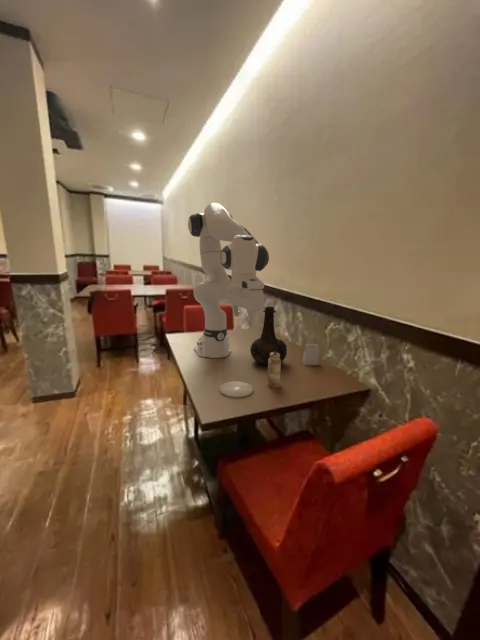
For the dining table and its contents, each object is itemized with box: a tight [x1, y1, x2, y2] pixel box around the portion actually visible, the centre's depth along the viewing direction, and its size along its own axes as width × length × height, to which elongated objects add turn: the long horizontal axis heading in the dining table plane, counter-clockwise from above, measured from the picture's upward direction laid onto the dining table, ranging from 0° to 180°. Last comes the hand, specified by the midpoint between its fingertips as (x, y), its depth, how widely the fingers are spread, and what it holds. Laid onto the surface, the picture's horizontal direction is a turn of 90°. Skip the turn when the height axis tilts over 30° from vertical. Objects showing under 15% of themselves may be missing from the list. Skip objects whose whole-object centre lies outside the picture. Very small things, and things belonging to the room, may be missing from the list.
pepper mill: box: [267, 352, 282, 389], centre depth 126 cm, size 5×5×14 cm
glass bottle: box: [249, 306, 288, 367], centre depth 151 cm, size 18×18×28 cm
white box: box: [302, 343, 320, 366], centre depth 153 cm, size 4×7×10 cm, turn 96°
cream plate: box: [219, 380, 254, 399], centre depth 121 cm, size 13×13×1 cm
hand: (242, 318), depth 115 cm, fingers open, 8 cm apart
